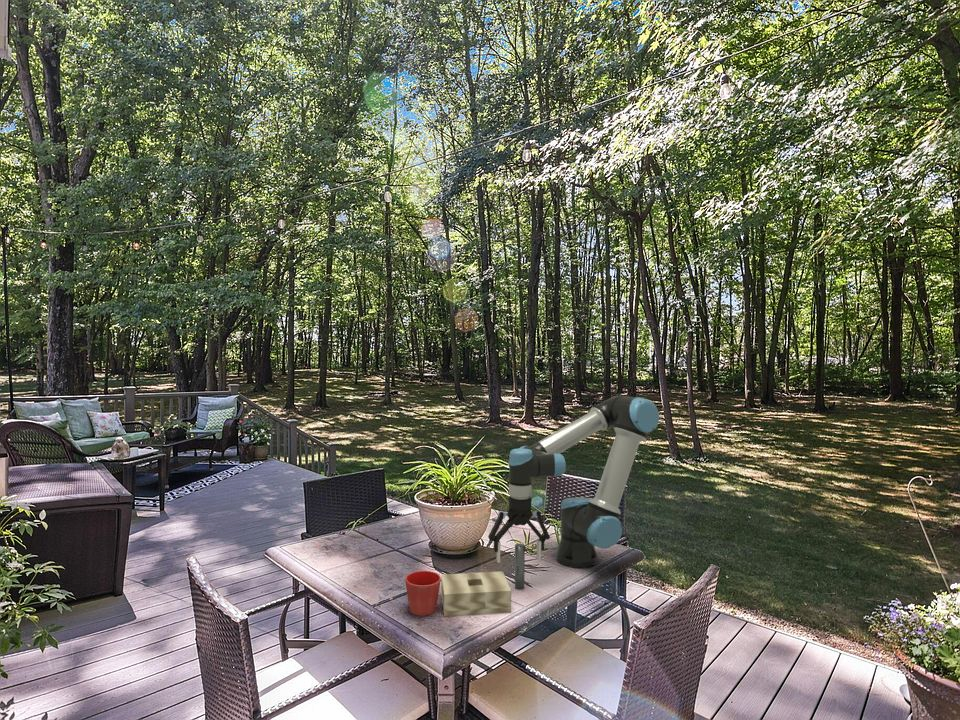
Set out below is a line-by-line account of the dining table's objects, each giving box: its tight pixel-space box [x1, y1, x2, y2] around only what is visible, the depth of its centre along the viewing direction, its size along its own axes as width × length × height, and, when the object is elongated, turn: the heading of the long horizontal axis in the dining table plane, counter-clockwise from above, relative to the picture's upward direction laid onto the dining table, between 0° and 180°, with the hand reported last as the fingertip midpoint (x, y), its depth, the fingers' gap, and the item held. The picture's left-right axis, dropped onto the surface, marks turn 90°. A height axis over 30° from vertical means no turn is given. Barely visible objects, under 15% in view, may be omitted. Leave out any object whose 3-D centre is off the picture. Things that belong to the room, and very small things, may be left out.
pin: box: [514, 543, 526, 590], centre depth 173 cm, size 3×3×14 cm
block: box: [440, 570, 512, 617], centre depth 162 cm, size 20×14×6 cm
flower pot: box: [405, 570, 441, 616], centre depth 158 cm, size 11×11×10 cm
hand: (518, 560), depth 173 cm, fingers open, 13 cm apart
